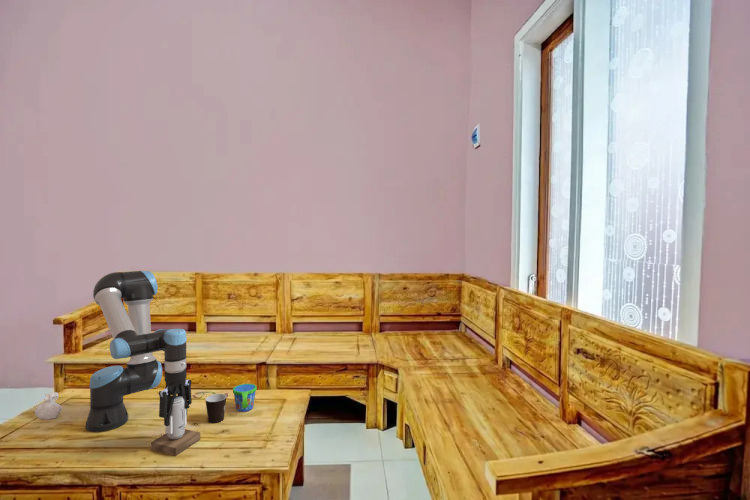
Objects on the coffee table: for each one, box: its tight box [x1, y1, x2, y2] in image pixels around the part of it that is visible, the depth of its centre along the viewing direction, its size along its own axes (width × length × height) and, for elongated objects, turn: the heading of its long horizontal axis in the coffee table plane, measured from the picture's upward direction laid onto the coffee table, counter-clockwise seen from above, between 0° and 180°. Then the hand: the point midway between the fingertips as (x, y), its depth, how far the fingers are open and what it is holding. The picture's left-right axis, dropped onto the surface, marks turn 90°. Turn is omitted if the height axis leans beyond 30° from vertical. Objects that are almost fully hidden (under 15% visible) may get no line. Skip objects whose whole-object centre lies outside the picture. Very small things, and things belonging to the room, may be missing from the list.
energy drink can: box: [167, 394, 186, 439], centre depth 150 cm, size 6×6×15 cm
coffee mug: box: [204, 393, 227, 424], centre depth 172 cm, size 12×9×10 cm
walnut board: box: [150, 428, 201, 457], centre depth 151 cm, size 12×12×3 cm
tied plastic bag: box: [34, 391, 63, 420], centre depth 173 cm, size 12×8×11 cm
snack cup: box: [232, 383, 257, 413], centre depth 182 cm, size 16×10×10 cm
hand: (176, 428), depth 150 cm, fingers closed on energy drink can, 6 cm apart
